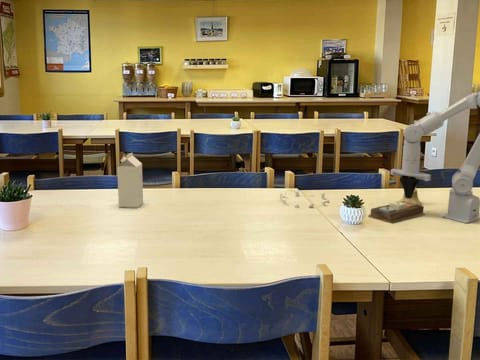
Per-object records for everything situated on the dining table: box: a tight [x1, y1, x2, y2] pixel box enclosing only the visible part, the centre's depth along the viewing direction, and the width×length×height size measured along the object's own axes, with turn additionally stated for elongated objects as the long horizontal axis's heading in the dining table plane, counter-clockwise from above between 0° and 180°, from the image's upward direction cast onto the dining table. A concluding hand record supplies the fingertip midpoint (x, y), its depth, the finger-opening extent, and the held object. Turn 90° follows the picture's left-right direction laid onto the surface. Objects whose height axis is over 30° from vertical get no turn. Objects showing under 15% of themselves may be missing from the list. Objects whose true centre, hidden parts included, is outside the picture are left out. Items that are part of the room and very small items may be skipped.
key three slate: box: [379, 207, 396, 213], centre depth 186 cm, size 4×4×3 cm
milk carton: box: [116, 152, 144, 209], centre depth 198 cm, size 7×7×19 cm
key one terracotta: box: [404, 202, 416, 208], centre depth 193 cm, size 4×4×3 cm
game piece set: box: [277, 188, 330, 209], centre depth 208 cm, size 19×20×4 cm
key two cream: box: [388, 200, 406, 211], centre depth 189 cm, size 4×4×3 cm
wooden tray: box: [368, 201, 426, 224], centre depth 189 cm, size 10×18×3 cm, turn 127°
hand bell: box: [398, 188, 422, 206], centre depth 205 cm, size 8×8×16 cm
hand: (408, 197), depth 192 cm, fingers closed
